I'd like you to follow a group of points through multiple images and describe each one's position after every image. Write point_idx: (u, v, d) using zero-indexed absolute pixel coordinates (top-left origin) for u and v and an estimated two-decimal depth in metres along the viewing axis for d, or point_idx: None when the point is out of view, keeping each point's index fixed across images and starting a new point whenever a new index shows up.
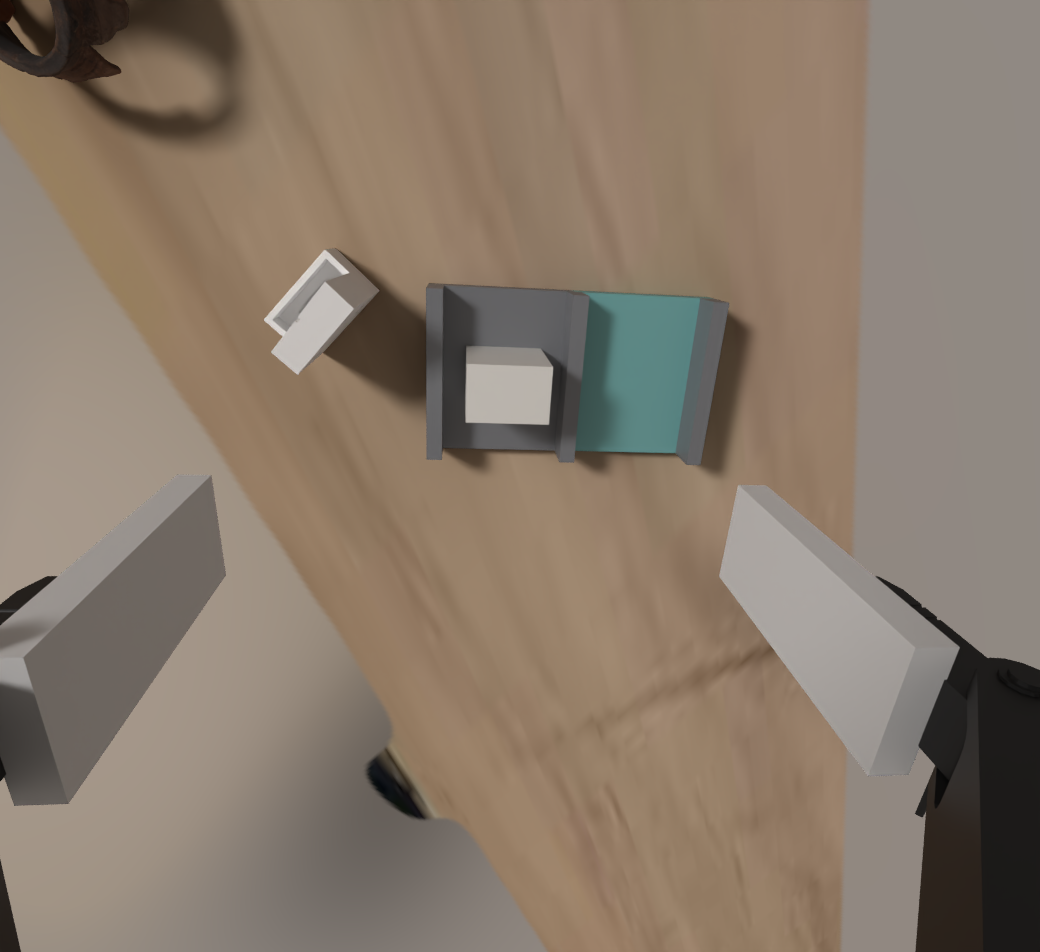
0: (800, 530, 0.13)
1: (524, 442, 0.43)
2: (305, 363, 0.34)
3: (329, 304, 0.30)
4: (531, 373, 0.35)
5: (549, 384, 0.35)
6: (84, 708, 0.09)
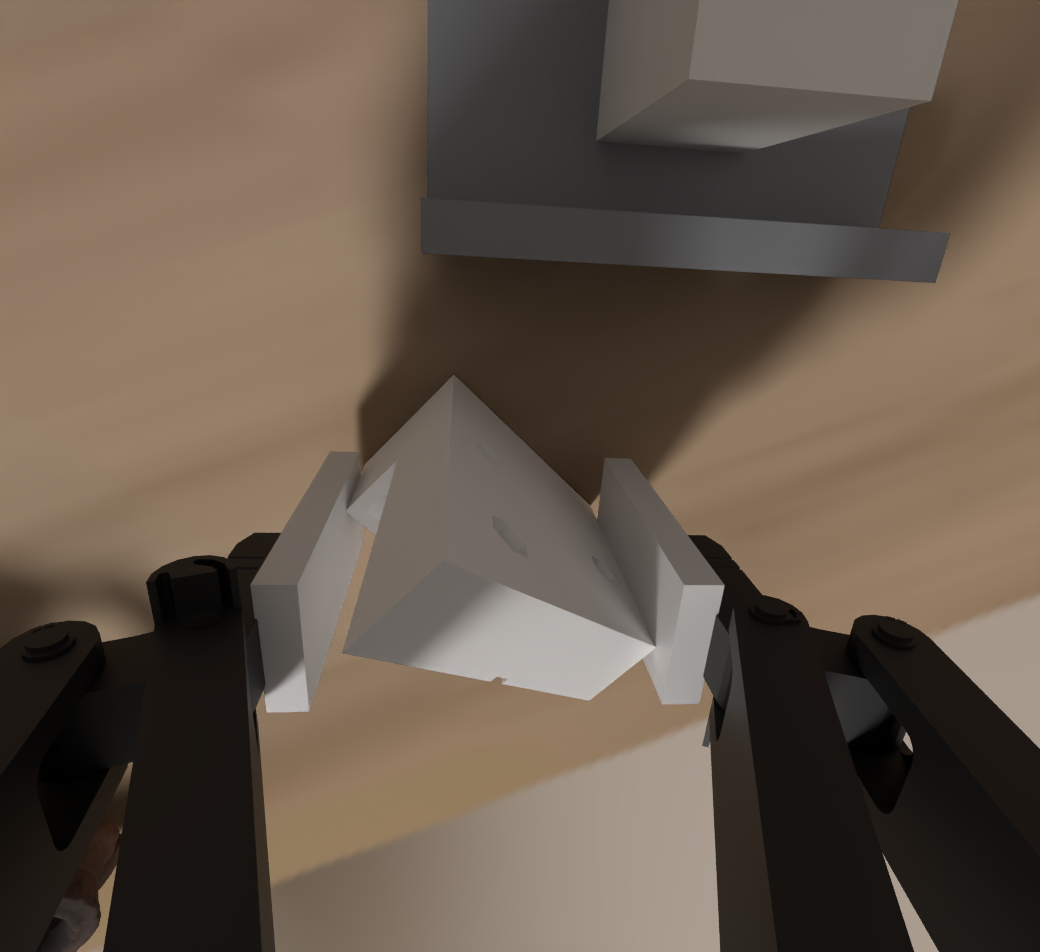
0: (639, 494, 0.14)
1: None
2: (629, 639, 0.11)
3: (435, 626, 0.08)
4: None
5: None
6: (314, 635, 0.11)
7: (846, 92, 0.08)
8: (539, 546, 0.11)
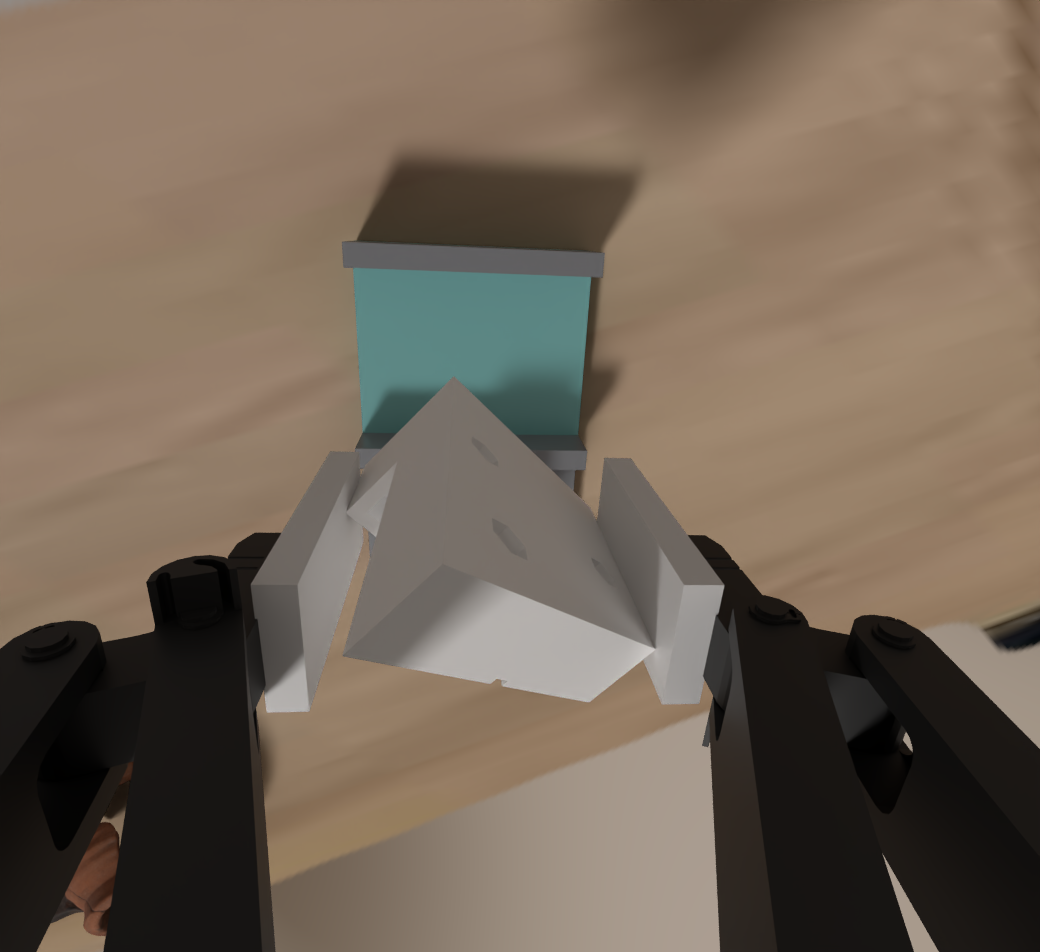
0: (639, 494, 0.14)
1: None
2: (629, 641, 0.11)
3: (435, 629, 0.08)
4: None
5: None
6: (314, 635, 0.11)
7: None
8: (539, 548, 0.11)
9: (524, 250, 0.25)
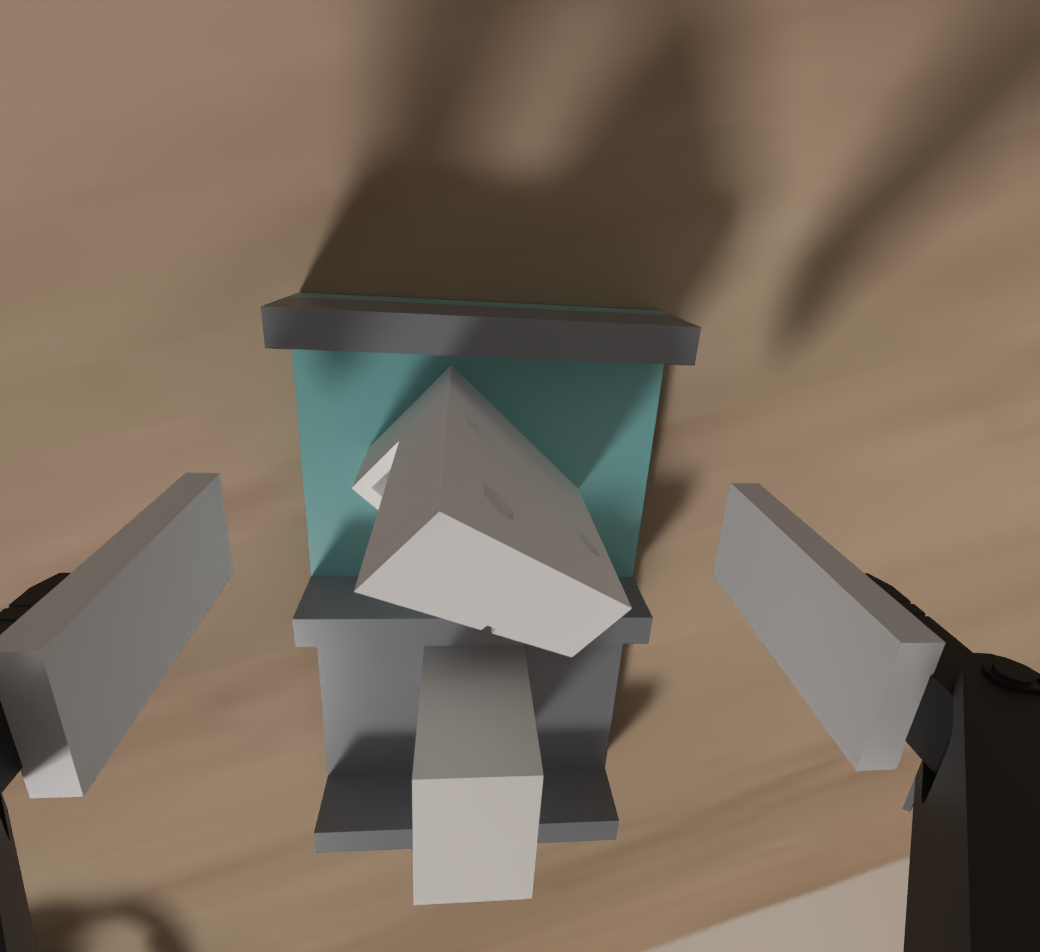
0: (791, 527, 0.13)
1: (607, 651, 0.22)
2: (606, 598, 0.13)
3: (433, 572, 0.09)
4: (428, 812, 0.16)
5: (451, 782, 0.16)
6: (98, 702, 0.10)
7: None
8: (526, 514, 0.12)
9: (569, 322, 0.15)
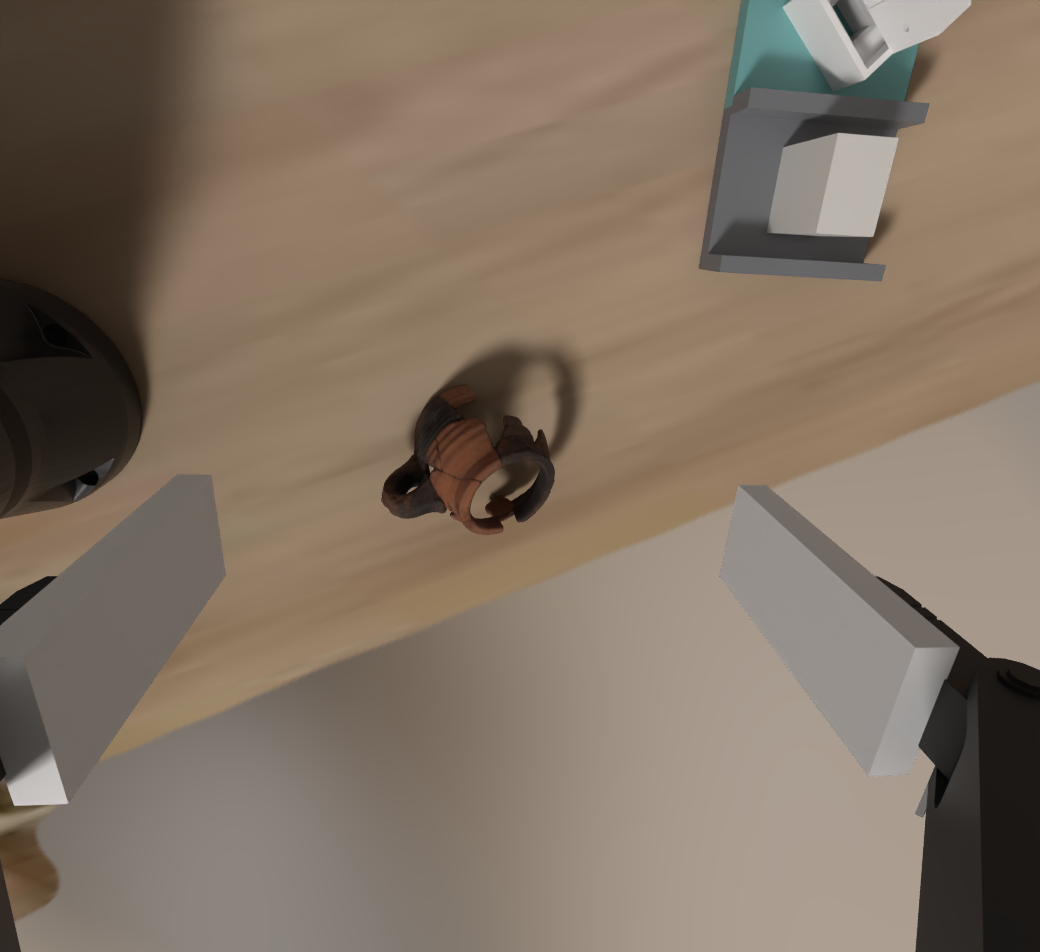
0: (800, 530, 0.13)
1: None
2: None
3: None
4: (839, 159, 0.33)
5: (855, 137, 0.32)
6: (84, 708, 0.09)
7: (852, 235, 0.34)
8: None
9: None
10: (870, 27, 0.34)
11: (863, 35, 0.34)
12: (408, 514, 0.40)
